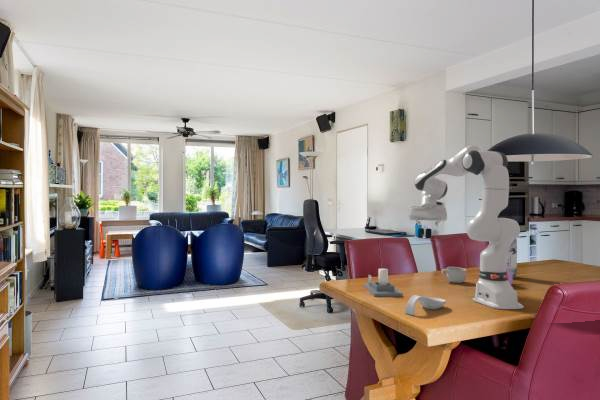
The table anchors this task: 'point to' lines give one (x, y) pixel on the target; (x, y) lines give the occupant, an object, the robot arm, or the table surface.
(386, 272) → the white rectangular block
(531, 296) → the table surface
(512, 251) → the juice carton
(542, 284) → the table surface
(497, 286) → the robot arm
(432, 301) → the grey curved piece
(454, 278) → the teacup
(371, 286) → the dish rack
